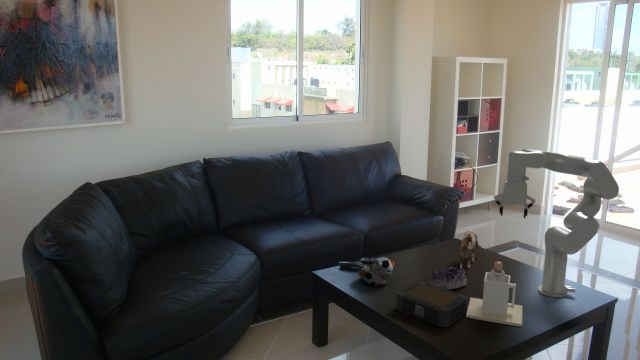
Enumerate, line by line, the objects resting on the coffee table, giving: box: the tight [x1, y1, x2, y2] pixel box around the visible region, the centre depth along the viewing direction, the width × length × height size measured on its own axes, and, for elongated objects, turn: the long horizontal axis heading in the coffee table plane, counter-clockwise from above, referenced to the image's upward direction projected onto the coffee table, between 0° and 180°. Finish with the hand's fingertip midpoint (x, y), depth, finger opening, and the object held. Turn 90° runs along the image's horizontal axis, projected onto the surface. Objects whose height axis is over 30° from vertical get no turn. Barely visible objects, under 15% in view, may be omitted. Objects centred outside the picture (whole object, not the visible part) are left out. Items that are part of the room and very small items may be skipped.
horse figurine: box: [459, 230, 482, 269], centre depth 272 cm, size 31×8×21 cm, turn 152°
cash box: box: [395, 281, 469, 328], centre depth 219 cm, size 25×20×8 cm
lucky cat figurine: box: [356, 256, 395, 287], centre depth 250 cm, size 17×14×16 cm
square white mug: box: [465, 271, 523, 328], centre depth 217 cm, size 22×18×16 cm
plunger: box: [490, 260, 506, 282], centre depth 216 cm, size 8×8×21 cm
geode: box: [429, 266, 467, 291], centre depth 244 cm, size 20×12×10 cm, turn 123°
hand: (512, 216), depth 227 cm, fingers open, 9 cm apart
